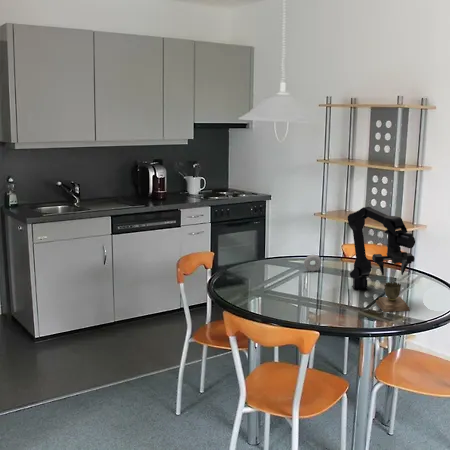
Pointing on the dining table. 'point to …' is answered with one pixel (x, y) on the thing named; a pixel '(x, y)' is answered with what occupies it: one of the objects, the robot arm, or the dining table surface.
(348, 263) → the dining table surface
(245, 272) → the dining table surface
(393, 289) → the cup
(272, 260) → the dining table surface
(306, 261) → the donut
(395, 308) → the plinth
